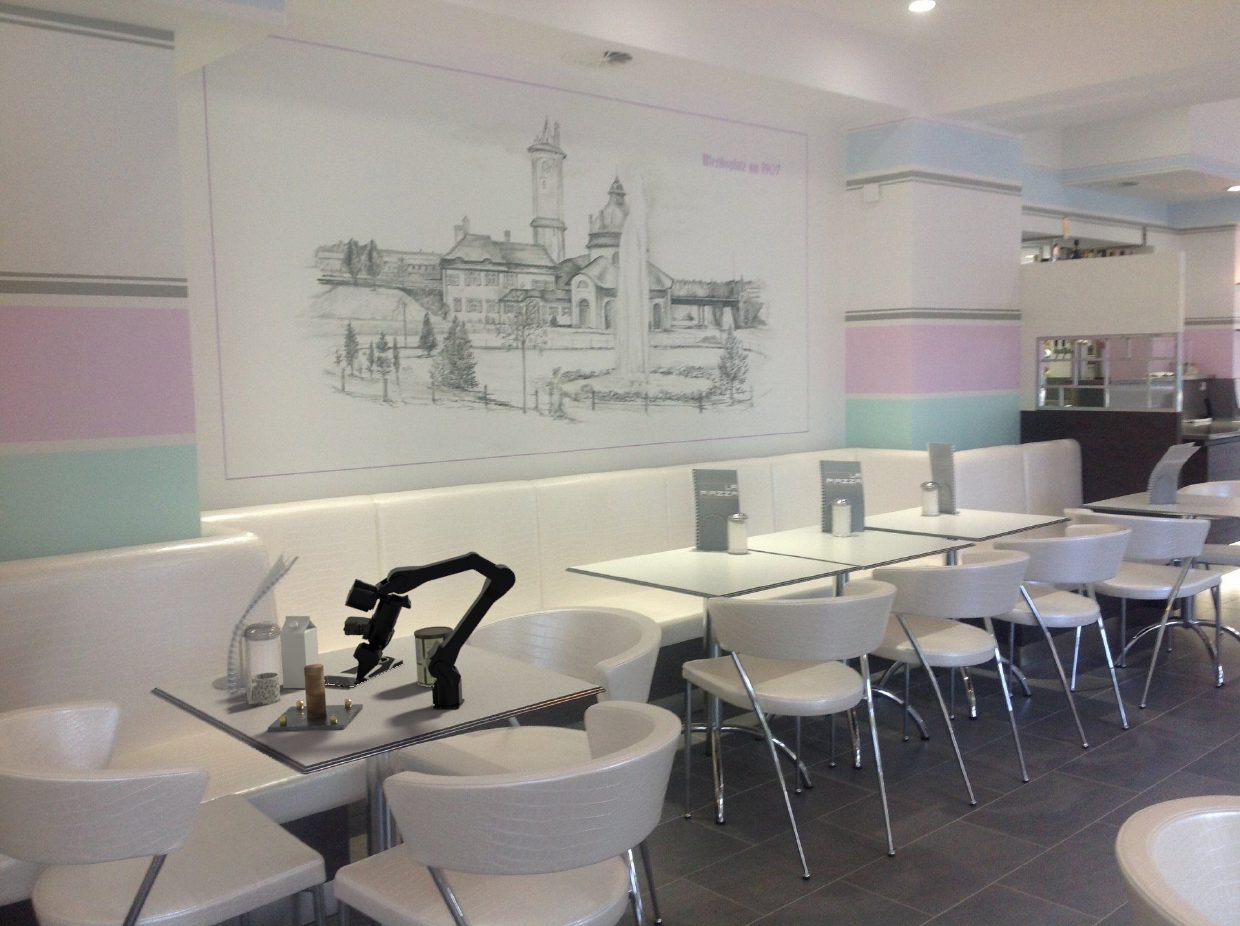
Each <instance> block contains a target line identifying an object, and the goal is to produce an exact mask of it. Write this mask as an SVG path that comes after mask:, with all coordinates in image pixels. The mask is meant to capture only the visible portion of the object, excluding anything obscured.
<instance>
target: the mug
mask: <svg viewBox="0 0 1240 926" xmlns="http://www.w3.org/2000/svg"><path fill="white" fill-rule="evenodd" d="M246 699H247V703H248V704H249V705H256V706H268V705H273V704H277V703H279V702H280V701H281V689H280V676H279V673H278V672H262V673H258V674H255V675H252V676H251V684H250V685H248V687H246Z"/></svg>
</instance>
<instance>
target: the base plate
mask: <svg viewBox="0 0 1240 926" xmlns="http://www.w3.org/2000/svg"><path fill="white" fill-rule="evenodd" d="M362 709H363V703H359V704H358V703H357V704H352V698H346V699H344V704H331V705H329V704H326V716H324V717H320V718H308V717H307V706H306V705H305V706H304V700H297V701H296V705H295V706H293V705H292V706H290V707H288V709H286V710H285V711H284V712H283V713H282V714H281V715H280V716H279V717H278V718H277V719H276V720H274V721H273V722H272V723H271V724H269V726H268V727H267V730H268V733H269V732H291V731H292V732H295V731H323V730H329V731H330V730H345V729H346V728H347V727H348V725H349V724H350V723H351V722H352V721H353V720H354V719H355V718H356V716H358V714H359V713H360V712H361V711H362Z"/></svg>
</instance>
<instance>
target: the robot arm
mask: <svg viewBox="0 0 1240 926" xmlns="http://www.w3.org/2000/svg"><path fill="white" fill-rule="evenodd" d="M471 570H472V571H473V570H474V571H475V572H477V573H479V574H480V575H482V576H483V577H485V580H484V583H483V585H482V588H481V590H480V592H479V593H478V595H477V597H476V598H475V599H474V601H473V602H472V604H471V605H470V606H469V608H468V609H467V610H466V612H465V613H464V614H463V616H462V617H461V619H460V620H459V622H458V623H457V624H456V626H455V627H454V628H453V631H452V632H451V634H450V635H449V637H448V638H447V639H446V640H444V641H443V642H442V643H439V642H438V641H437V640H436V641H435V643H434V645H433V647H432V648H431V649H430V650H429V651H428V652H427V655H428V656H427V658H426V666H427V669H428V671H429V673H430V675H431V676H432V677H434V678H436V679H437V680H436V681H435V682H434V687H431V688H432V689H431V693H432V695H431V697H432V704H433V706H432V709H434V710H439V709H440V710H441V709H443V710H447V709H448V710H449V709H459V708H460V707H461V706H462V705H463V703H464V702H465V698H463V685H462V681H463V680H462V675H461V673H460V671H459V669H458V667H457V666H456V665H455V664H456V662H457V660H458V656H459V654H460V652H461V649H462V648H463V646H464V645H465V643H466V642H467V641H468V639H469V638H470V637H471V636H472V634H473V633H474V631H475V629H476V628H477V627H478V626H479V624H480V623H481V622H482V620H483V619H484V617H485V616H486V614H487V613H488V612H489V610H490V609H491V607H492V606H493V605H494V604H495V603H496V602H497V601H498V600H500V599H501V598H503V597H504V596H505V595H506V594H507V593H508V592H509V591H510V590H511V589H512V588H513V587H514V586H515V583H516V581H517V580H516V579H517V578H516V574H515V572H514V570H512V569H511V568H510V567H509V566H508V565H506V564H502V563H498V564H496V563H494V562H493V561H491V560H489V559H487V558H486V557H483V556H482V555H480V554H479V553H478V552H476V551H469V552H467V553H465V554H461V555H458V556H454V557H450V558H447V559H446V558H445V559H443V560H438V561H436V562H431V563H428V564H424V565H407V566H397V567H394V568H392V569H391V570H389V572H388V573H387V576H386V577H385V578H383V579H382V580H380V581H379V582H377V583H376V584H371V583H368V582H365V581H363V580H360V579H359V578H355V579H354V581H353V584H352V585H351V588H350V589H349V591H348V593H347V596H346V600H345V601H344V602H345V603H344V606H346V607H349V608H352V609H355V610H358V611H361V612H365V613H369V611H372V610H375V611H374V613H373V614H371V617H366V616H353V615H352V616H348V617H347V618H346V619H345V621H344V627H343V628H342V630H343V632H344V635H345V636H362V637H361V639H362V640H365V641H367V642H368V643H367V642H360V643H359V644H358V645H357V646H356V648H355V650H354V652H353V655H352V657H353V658H354V659H355V660H356V661H357V664H358V670H357V677H356V679H357V680H362V679H363V678H364V677H365V676H366V675H367V674H368V673H369V672H370V671H371V670H372V669H373V668H375V667H376V666H377V665H378V663H379V662H380V659H381V657H382V655H384V652H383V651H384V650H385V649H386V648H387V647H388V646H389V644H390V642H392V639H393V636H394V635H395V632H396V630H395V627H396V624H397V621H398V618H399V616H400V613H401V611H402V609H403V608H405V609H408V610H410V609H411V608H412V600H411V599H410V597H409V594H407V593H409V592H410V591H413V590H415V589H417V588H419V587H420V586H422V585H424V584H426V583H428V582H431V581H435V580H439V579H442V578H446V577H449V576H452V575H457V574H460V573H465V572H468V571H471ZM405 594H406V595H405ZM378 600H379V601H378ZM377 602H378V603H377ZM446 708H447V709H446Z"/></svg>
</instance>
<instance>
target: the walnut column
mask: <svg viewBox="0 0 1240 926" xmlns="http://www.w3.org/2000/svg"><path fill="white" fill-rule="evenodd" d="M324 671H325V669H324V664H322V663H319V664H312V665H308V666H305V667H304V676H305V688H304V689H305V703H306V705H305V706H307V717H308V718H320V717H324V716H326V705H327V702H326V685H325V683H324V681H325V680H324V676H325V672H324Z"/></svg>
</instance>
